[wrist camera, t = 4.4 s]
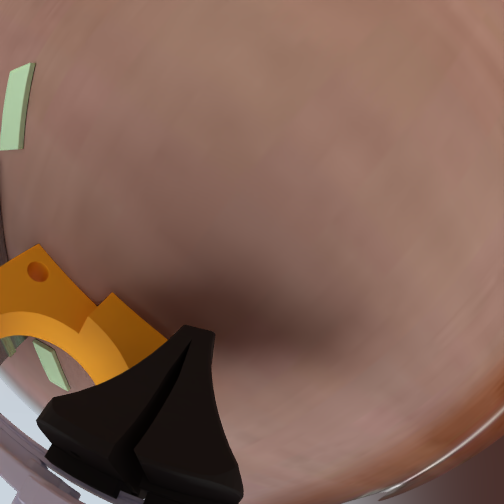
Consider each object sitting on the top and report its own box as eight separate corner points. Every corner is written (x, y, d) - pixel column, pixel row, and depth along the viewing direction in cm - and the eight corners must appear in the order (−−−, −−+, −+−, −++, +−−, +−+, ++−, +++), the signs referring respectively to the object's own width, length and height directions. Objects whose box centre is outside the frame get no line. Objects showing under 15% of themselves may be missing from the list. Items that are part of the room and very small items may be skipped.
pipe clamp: (208, 367, 14) (173, 470, 8) (169, 393, 15) (134, 475, 9) (47, 221, 12) (-42, 270, 6) (32, 269, 13) (-36, 321, 7)
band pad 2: (51, 378, 18) (49, 380, 17) (35, 338, 16) (32, 341, 15) (70, 388, 18) (68, 391, 17) (54, 349, 16) (51, 352, 15)
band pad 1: (4, 149, 10) (-1, 150, 10) (14, 71, 8) (10, 71, 8) (23, 148, 10) (18, 149, 10) (35, 63, 8) (30, 62, 8)
